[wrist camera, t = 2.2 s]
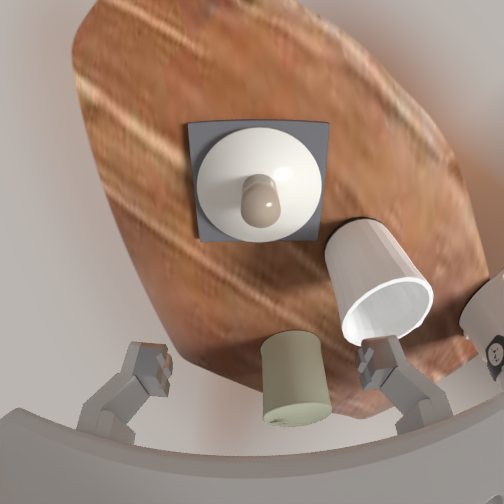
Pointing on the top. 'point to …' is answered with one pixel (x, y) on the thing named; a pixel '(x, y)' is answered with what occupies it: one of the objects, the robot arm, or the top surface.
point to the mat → (212, 131)
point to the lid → (259, 184)
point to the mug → (374, 282)
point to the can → (294, 380)
